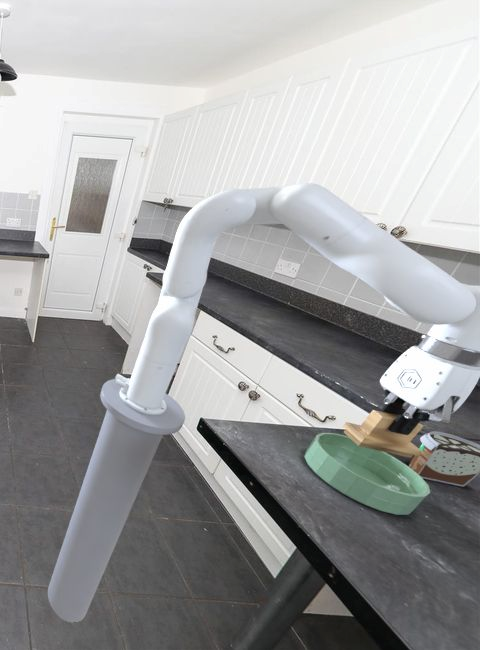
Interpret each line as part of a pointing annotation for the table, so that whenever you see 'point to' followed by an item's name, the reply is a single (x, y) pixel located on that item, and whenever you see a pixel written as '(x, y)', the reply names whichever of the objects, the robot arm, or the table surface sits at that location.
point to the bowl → (366, 474)
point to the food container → (447, 459)
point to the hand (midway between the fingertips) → (391, 426)
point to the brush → (382, 435)
